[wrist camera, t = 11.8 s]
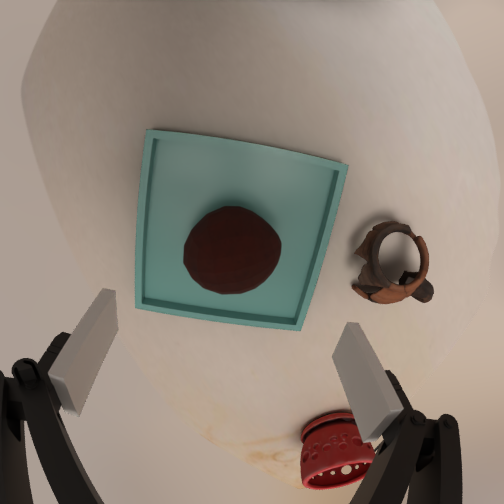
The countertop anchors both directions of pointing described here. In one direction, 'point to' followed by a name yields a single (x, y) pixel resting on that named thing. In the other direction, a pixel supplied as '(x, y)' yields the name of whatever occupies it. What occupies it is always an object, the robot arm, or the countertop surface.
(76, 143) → the countertop surface
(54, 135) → the countertop surface
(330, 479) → the plant pot
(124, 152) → the countertop surface
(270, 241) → the dark brown oval
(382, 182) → the countertop surface
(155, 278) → the teal tray
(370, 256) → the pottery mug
